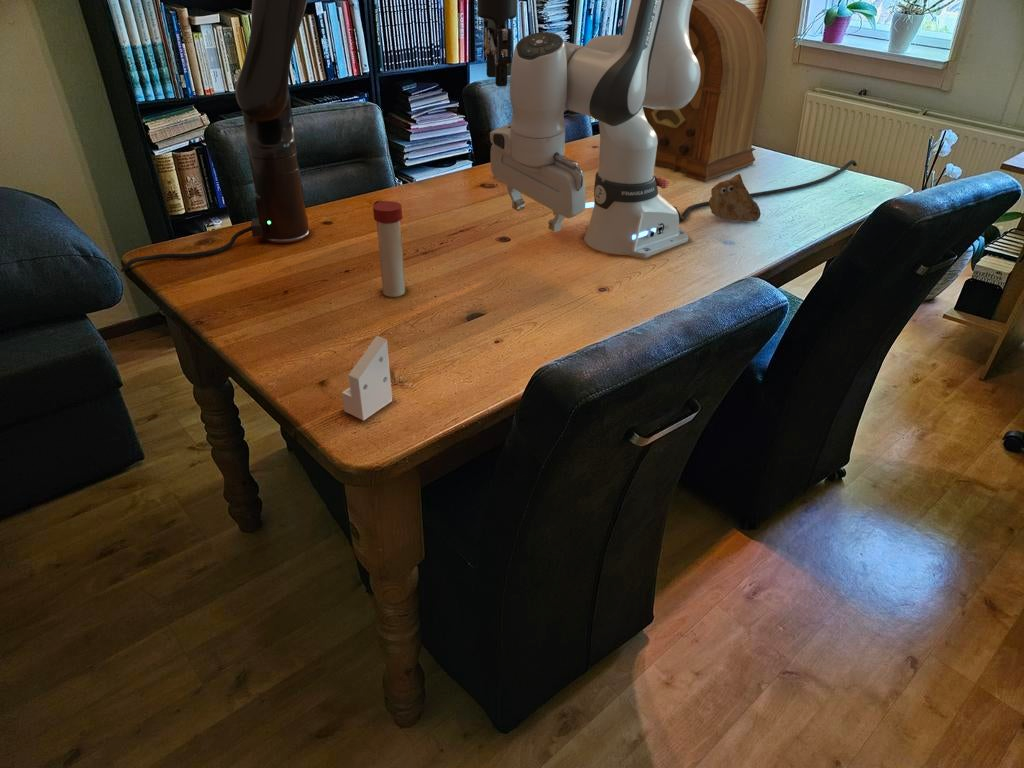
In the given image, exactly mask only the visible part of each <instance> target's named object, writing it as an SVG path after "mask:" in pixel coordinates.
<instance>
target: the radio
mask: <svg viewBox="0 0 1024 768" xmlns="http://www.w3.org/2000/svg"><path fill="white" fill-rule="evenodd" d="M689 39H690V45H691V48H692V51H693V53H694V55H695V56H696V58H697V60H698V62H699V66H700V83H699V87H698V89H697V92H696V94H695V95H694V97H693V98H692V100H691V101H690V102H689V103H688V104H687V105H686V106H684V107H683V108H681V109H677V110H654V109H651V108H647V107H643V110H644V114H645V117H646V119H647V121H648V123H649V124H650V126H651V127H652V128H653V129H654V131H655V133H656V135H657V140H658V144H657V151H656V159H655V166H657V167H662V168H668V169H671V170H672V171H674V172H680V173H683V174H685V175H684V176H686V177H689V178H693V179H695V180H699V181H703V182H707V181H709V180H712V179H716V178H717V177H720V176H724V175H727V174H729V173H732V172H735V171H739V170H740V169H743V168H746V167H749V166H752V165H753V164H754V162H755V161H756V158H755V156H754V151H755V150H756V148H755V147H754V148H753V147H752V146H753V141H754V135H755V131H756V127H757V122H758V117H759V112H760V106H761V103H762V98H763V93H764V87H765V82H766V73H767V65H768V55H767V52H768V51H767V41H766V37H765V32H764V29H763V25H762V24H761V22H760V20H759V19H758V17H757V16H756V14H755V13H754V12H753V11H752V10H751V9H750V8H749V7H748V6H747V5H746V4H744V3H742V2H740V1H738V0H693V3H692V6H691V11H690V17H689Z"/></svg>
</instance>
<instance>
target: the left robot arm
mask: <svg viewBox="0 0 1024 768" xmlns="http://www.w3.org/2000/svg"><path fill="white" fill-rule="evenodd" d="M251 1H252V2H251V17H250V32H249V38H248V39H249V40H248V43H247V48H246V51H245V56H244V60H243V63H242V67H241V70H240V73H239V75H238V78H237V81H236V84H235V90H234V93H235V99H236V102H237V104H238V106H239V108H240V110H241V114H242V118H243V124H244V134H245V144H246V150H247V154H248V160H249V165H250V171H251V172H250V173H251V177H252V182H253V183H252V184H253V187H254V192H255V194H254V201H255V206H256V211H257V212H256V213H257V217H256V218H255V217H254V218H253V217H252V218H251V222H250V223H251V224H250V226H248V227H246V228H243V229H241V230H239V231H237V232H236V233H235V234H234V235H233V236H232V237H231V239H230V240H229V242H228V243H226V244H224V246H223V245H222V246H221V247H218V248H215V249H210V250H205V251H204V250H203V251H197V252H191V253H159V254H152V255H144V256H138V257H137V256H136V257H134V258H132V259H130V260H128V261H127V262H126V263H125V264H123V266H122V267H121V269H120V272H121V273H124V272H126V271H128V269H129V268H130V267H131V266H132V265H134V264H136V263H139V262H145V261H147V262H148V261H154V260H155V261H156V260H161V259H191V258H199V257H205V256H212V255H216V254H219V253H222V252H225V251H226V250H228V249H230V248H231V247H233V245H234V244H235V242H236V240H237V239H238V238H239V237H242V236H243V235H245V234H246V233H249V232H251V235H252V238H257V237H258V238H260V237H261V238H262V242H263V243H272V244H292V243H296V242H300V241H303V240H304V239H307V238H308V237H309V235H310V228H309V220H308V215H307V210H306V204H305V203H306V202H305V197H304V191H303V184H302V183H303V182H302V177H301V169H300V164H299V155H298V148H297V142H296V141H297V140H296V131H295V130H296V129H295V124H294V117H293V108H292V102H291V95H290V89H289V78H290V69H291V63H292V62H291V60H292V55H293V50H294V47H295V43H296V39H297V37H298V34H299V31H300V28H301V25H302V22H303V18H304V16H305V12H306V8H307V4H308V1H309V0H251ZM476 3H477V5H476V6H477V11H476V12H477V16H478V17H479V18H481V19H483V47H482V50H483V52H484V55H485V57H486V77H488V78H495V81H494V82H495V86H497V87H506V86H507V85H508V66H509V65H510V64H511V65H512V33H513V32H512V28H508V27H507V26H508V25H507V21H508V20H514V19H516V17H517V15H518V0H477V2H476ZM502 55H503V56H502Z"/></svg>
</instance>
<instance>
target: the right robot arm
mask: <svg viewBox="0 0 1024 768" xmlns="http://www.w3.org/2000/svg"><path fill="white" fill-rule="evenodd" d="M693 1H694V0H630V5H629V9H628V13H627V18H626V22H625V26H624V31H623V35H621V34H608V35H607V34H606V35H600V36H595V37H593V38H591V39H590V40H589V41H588V42H586V44H585V45H580V44H577V43H573V42H572V43H571V42H567V41H564V38H563V37H561V36H560V35H559V34H557V33H555V32H550V31H540V32H534V33H530V34H528V35H525V36H524V37H522V38H521V39H519V40H518V41H517V43H516V44H515V46H514V49H513V54H512V58H511V66H510V78H509V79H510V80H509V81H510V82H509V101H510V105H511V109H512V116H511V120H510V123H509V124H506V125H503V126H501V127H498V128H496V129H493V130H492V131H490V132H489V141H490V143H491V144H492V145H491V147H490V156H489V157H490V172H491V174H492V176H493V178H494V180H496V181H498V182H500V183H502V184H503V185H505V186H506V190H507V192H508V195H509V197H510V199H511V207H512V209H514V210H515V211H516V212H521V211H523V210H524V209H525V207H526V206H525V204H526V200H525V199H524V198H523V197H522V195H524V196H525V197H527V198H529V199H531V200H533V201H535V202H537V204H538V203H539V204H540V205H542V206H544V207H546V208H548V209H549V210H551V211H552V215H553V216H554V217H553V218H552V219H550V220H548V229H549V230H550V231H552V232H553V233H558V232H559V231H561V230H562V228H563V227H562V226H563V221H564V219H565V218H566V219H572V218H574V217H576V216H579V215H580V214H581V213H583V212H584V211H585V209H588V208H592V211H591V215H590V220H589V223H588V227H587V230H586V232H585V235H584V238H583V241H584V243H585V244H586V245H587V246H588V247H590V248H591V249H594V250H596V251H599V252H602V253H605V254H611V255H619V256H620V255H622V256H631V257H635V258H641V259H647V258H649V257H652V256H654V255H657V254H660V253H662V252H665V251H667V250H670V249H673V248H675V247H677V246H680V245H683V244H685V243H687V242H689V235H688V233H687V232H686V231H685V230H684V229H683V228H680V223H681V222H684V221H686V218H687V216H688V214H689V213H690V212H691V211H694V210H695V209H698V208H704V207H709V206H710V205H709V200H708V201H703V202H699V203H695V204H692V205H690V206H688V207H687V208H686V209H685V210H684V211H683V213H682V214H681V212H680V210H678V207H677V206H674V205H672V204H671V203H670V202H669V201H668V200H667V199H666V198H664V197H663V196H662V195H661V194H660V193H659V189H658V187H660V188H661V189H662V190H666V189H667V188H668V187H669V185H670V180H669V179H668V178H665V177H663V176H658V177H657V176H656V175H655V174H654V173H655V166H656V165H655V159H656V151H657V144H658V140H657V135H656V133H655V131H654V129H653V128H652V127H651V126H650V124H649V123H648V121H647V119H646V117H645V114H644V110H643V107H647V108H651V109H654V110H677V109H681V108H683V107H684V106H686V105H687V104H688V103H689V102H690V101H691V100H692V98H693V97H694V95H695V94H696V92H697V89H698V87H699V83H700V66H699V62H698V60H697V58H696V56H695V55H694V53H693V51H692V48H691V45H690V39H689V17H690V11H691V6H692V3H693ZM566 111H571V112H574V113H577V114H581V115H584V116H587V117H591V118H593V119H595V120H597V122H598V129H599V153H598V154H599V155H598V166H597V167H598V169H597V172H596V173H595V177H594V186H593V199H594V201H591V202H587V201H586V182H585V174H584V171H583V170H582V168H581V167H580V166H579V163H578V162H577V161H575V160H573V159H570V158H568V157H567V156H565V148H566V147H565V145H566V127H567V126H566V120H565V115H564V113H565V112H566ZM850 166H853V167H857V166H858V163H857V161H856V160H854V159H852V160H850V161H848V162H847V163H846V164H844V165H843V166H842V167H840V168H839V169H840V170H839V169H837V170H836V171H833V172H832V173H829V174H828V175H826V176H824V177H821V178H818V179H815V180H812V181H810V182H805V183H802V184H797V185H792V186H787V187H781V188H778V189H777V188H776V189H770V190H764V191H758V192H752V193H749V194H750V196H751V197H752V198H756V197H763V196H768V195H769V196H770V195H775V194H782V193H786V192H790V191H791V192H792V191H796V190H800V189H801V190H802V189H805V188H809V187H812V186H815V185H818V184H821V183H823V182H826V181H828V180H830V179H832V178H834V177H836V176H838V175H839V174H841V173H842V172H844V171H845V170H847V169H848V168H850Z"/></svg>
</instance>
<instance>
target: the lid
mask: <svg viewBox="0 0 1024 768" xmlns="http://www.w3.org/2000/svg"><path fill="white" fill-rule="evenodd" d="M372 213H373V219H374V221H375V222H376V221H377V222H380V223H394V222H398V221H400V222H401V220H402V219H403V206H402V204H401V203H400V202H398V201H394V200H393V201H392V200H391V201H390V200H384V201H379V202H376V203H374V204H373V206H372ZM377 222H376V223H377Z"/></svg>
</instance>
